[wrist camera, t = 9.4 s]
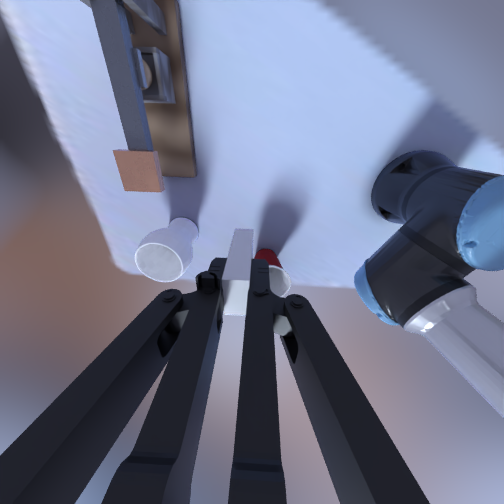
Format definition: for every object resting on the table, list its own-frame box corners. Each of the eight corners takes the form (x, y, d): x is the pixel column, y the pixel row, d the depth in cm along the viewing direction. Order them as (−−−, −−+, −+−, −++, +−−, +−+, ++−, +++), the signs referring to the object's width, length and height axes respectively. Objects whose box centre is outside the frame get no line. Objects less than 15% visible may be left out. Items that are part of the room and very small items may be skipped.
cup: (202, 212, 50) (181, 241, 37) (205, 249, 56) (189, 285, 43) (159, 210, 50) (124, 238, 37) (167, 247, 56) (139, 283, 43)
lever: (90, -6, 25) (58, -30, 21) (137, -5, 25) (115, -29, 21) (139, 184, 37) (124, 190, 33) (171, 185, 37) (160, 192, 33)
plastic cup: (279, 276, 59) (283, 307, 49) (243, 268, 58) (239, 298, 48) (291, 245, 54) (298, 272, 44) (252, 236, 53) (249, 261, 43)
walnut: (153, 59, 31) (140, 50, 28) (159, 92, 33) (147, 87, 30) (128, 58, 31) (111, 49, 28) (135, 91, 33) (120, 87, 30)
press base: (116, 1, 32) (20, -83, 19) (178, 3, 32) (122, -82, 19) (152, 174, 46) (110, 191, 33) (196, 175, 46) (171, 193, 33)
